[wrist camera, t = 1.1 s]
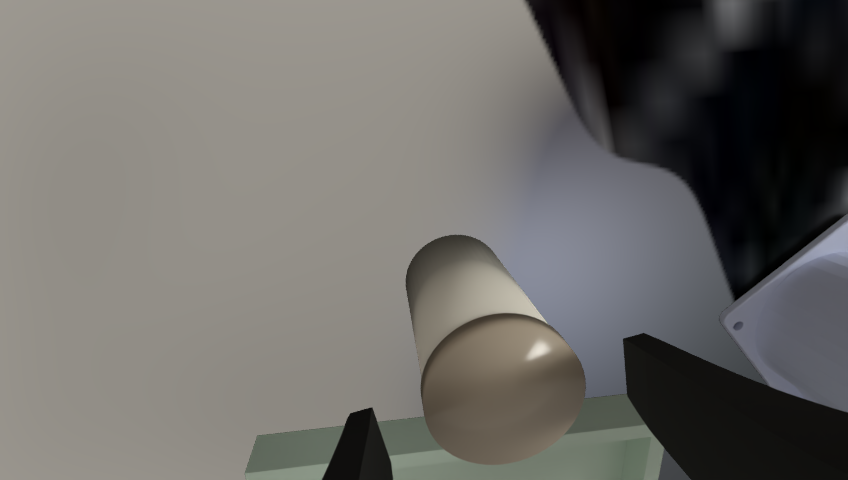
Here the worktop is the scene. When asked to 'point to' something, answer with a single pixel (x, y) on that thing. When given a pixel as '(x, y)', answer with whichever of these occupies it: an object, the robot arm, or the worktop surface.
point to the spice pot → (487, 357)
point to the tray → (450, 476)
